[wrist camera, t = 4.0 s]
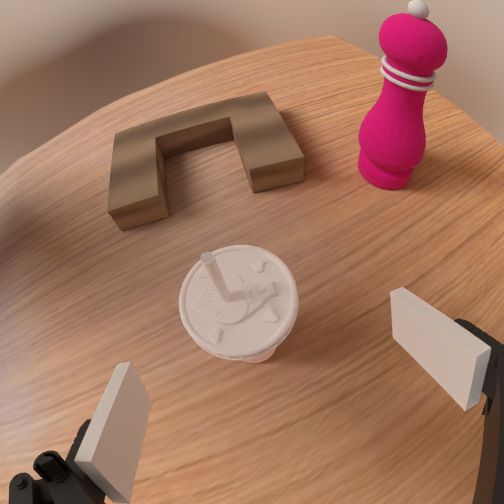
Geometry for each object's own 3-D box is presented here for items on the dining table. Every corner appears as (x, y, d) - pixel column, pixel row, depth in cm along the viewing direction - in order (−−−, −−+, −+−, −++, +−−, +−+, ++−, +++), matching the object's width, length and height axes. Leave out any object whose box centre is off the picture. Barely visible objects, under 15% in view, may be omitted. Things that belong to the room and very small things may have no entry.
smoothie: (209, 312, 26) (144, 211, 14) (284, 296, 26) (279, 179, 14) (222, 387, 23) (150, 348, 11) (303, 369, 23) (324, 310, 11)
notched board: (303, 180, 32) (304, 156, 29) (121, 231, 31) (107, 211, 28) (267, 112, 39) (266, 91, 36) (124, 152, 38) (115, 133, 35)
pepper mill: (403, 150, 34) (437, -1, 16) (421, 194, 30) (479, 26, 13) (348, 147, 34) (363, -16, 17) (359, 193, 31) (393, 3, 13)
